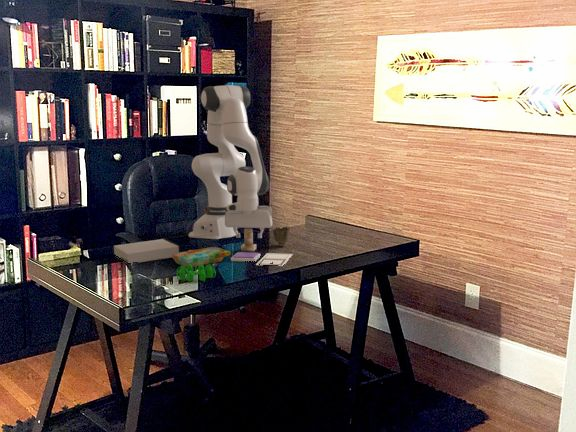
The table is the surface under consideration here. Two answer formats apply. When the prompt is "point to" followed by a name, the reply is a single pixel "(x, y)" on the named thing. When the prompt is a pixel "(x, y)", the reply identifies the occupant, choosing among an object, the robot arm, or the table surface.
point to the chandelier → (195, 272)
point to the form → (274, 259)
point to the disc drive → (146, 250)
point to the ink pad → (245, 256)
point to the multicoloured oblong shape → (200, 256)
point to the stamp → (248, 241)
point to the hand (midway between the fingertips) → (249, 237)
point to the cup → (281, 235)
